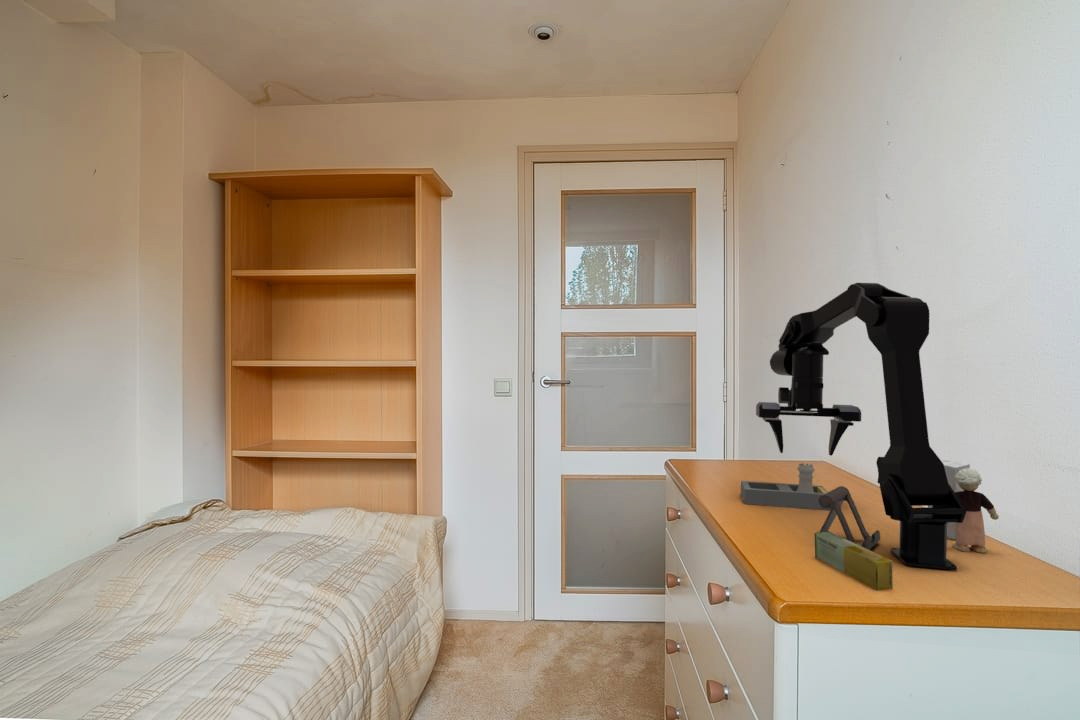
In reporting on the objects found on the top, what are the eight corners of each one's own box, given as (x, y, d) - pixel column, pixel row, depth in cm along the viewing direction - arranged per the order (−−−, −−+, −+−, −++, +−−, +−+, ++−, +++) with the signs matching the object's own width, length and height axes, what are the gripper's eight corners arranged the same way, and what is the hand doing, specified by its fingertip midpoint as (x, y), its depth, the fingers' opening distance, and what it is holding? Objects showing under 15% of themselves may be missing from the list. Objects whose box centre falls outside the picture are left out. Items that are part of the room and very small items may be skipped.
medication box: (813, 558, 84) (813, 531, 83) (828, 556, 84) (828, 530, 84) (876, 592, 72) (876, 561, 72) (894, 590, 72) (894, 559, 72)
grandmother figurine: (984, 546, 89) (985, 466, 89) (1001, 554, 86) (1003, 471, 85) (932, 543, 90) (934, 465, 90) (947, 552, 86) (949, 470, 86)
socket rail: (831, 510, 109) (832, 495, 109) (744, 504, 113) (745, 489, 113) (821, 500, 117) (822, 485, 117) (740, 494, 121) (740, 480, 121)
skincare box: (955, 541, 92) (957, 467, 92) (925, 533, 95) (926, 462, 95) (971, 534, 95) (972, 463, 95) (941, 527, 99) (942, 459, 99)
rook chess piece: (821, 507, 111) (822, 467, 111) (798, 506, 112) (799, 466, 112) (811, 501, 116) (812, 462, 116) (789, 500, 116) (790, 462, 116)
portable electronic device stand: (865, 558, 83) (866, 502, 83) (809, 545, 89) (810, 492, 89) (880, 544, 90) (881, 492, 90) (827, 533, 95) (828, 484, 95)
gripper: (846, 376, 119) (845, 450, 119) (753, 374, 124) (752, 445, 124) (862, 379, 108) (861, 459, 109) (760, 376, 113) (758, 453, 113)
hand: (805, 453), depth 114 cm, fingers open, 9 cm apart
